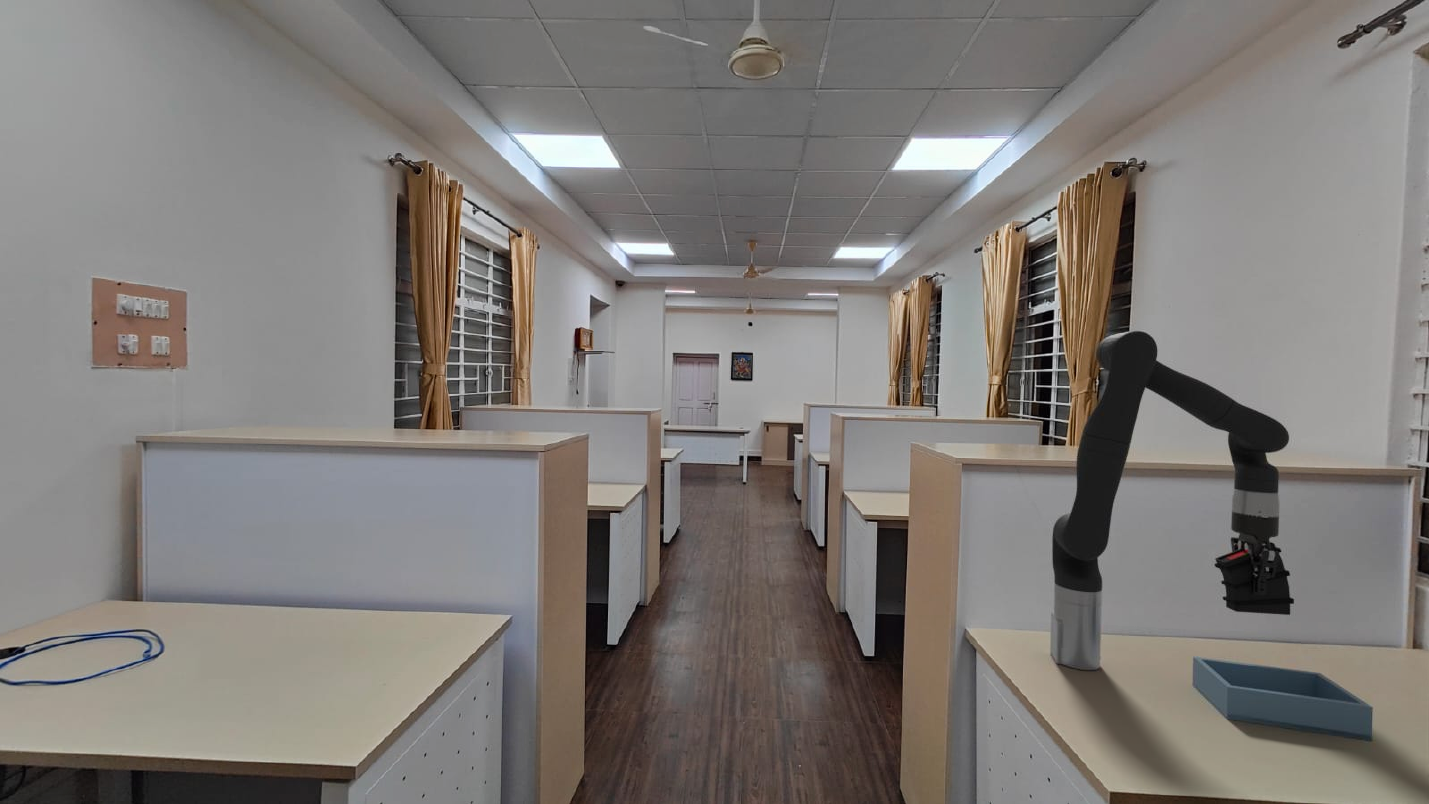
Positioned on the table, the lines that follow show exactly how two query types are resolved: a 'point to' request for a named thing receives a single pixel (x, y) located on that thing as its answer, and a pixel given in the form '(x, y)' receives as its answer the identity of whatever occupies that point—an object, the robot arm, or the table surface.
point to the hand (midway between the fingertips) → (1252, 590)
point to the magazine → (1240, 585)
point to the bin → (1282, 698)
